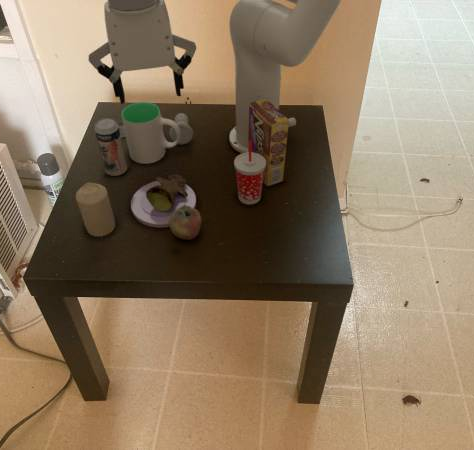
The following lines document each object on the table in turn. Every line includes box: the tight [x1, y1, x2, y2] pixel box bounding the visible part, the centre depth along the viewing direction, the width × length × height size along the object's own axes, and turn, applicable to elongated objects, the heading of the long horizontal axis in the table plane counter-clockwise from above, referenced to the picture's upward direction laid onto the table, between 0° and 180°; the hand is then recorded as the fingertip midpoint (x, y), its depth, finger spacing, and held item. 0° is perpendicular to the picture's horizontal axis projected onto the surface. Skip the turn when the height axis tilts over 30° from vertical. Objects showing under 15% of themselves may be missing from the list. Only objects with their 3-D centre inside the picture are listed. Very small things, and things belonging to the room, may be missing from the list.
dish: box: [130, 180, 197, 229], centre depth 97 cm, size 13×13×1 cm
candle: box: [75, 181, 116, 238], centre depth 90 cm, size 6×6×10 cm
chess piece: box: [168, 112, 194, 146], centre depth 113 cm, size 5×5×9 cm
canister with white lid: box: [94, 117, 128, 176], centre depth 101 cm, size 5×5×12 cm
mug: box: [120, 101, 181, 165], centre depth 105 cm, size 12×8×10 cm, turn 87°
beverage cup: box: [233, 140, 266, 205], centre depth 94 cm, size 6×6×14 cm
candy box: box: [248, 99, 290, 187], centre depth 99 cm, size 9×4×15 cm, turn 27°
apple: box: [168, 206, 202, 241], centre depth 89 cm, size 6×8×6 cm
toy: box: [146, 174, 188, 211], centre depth 97 cm, size 7×5×10 cm
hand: (150, 95), depth 84 cm, fingers open, 9 cm apart
